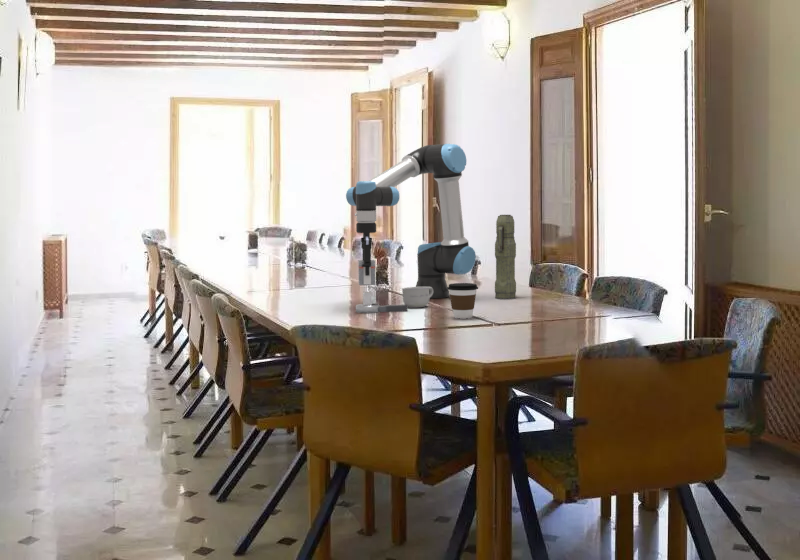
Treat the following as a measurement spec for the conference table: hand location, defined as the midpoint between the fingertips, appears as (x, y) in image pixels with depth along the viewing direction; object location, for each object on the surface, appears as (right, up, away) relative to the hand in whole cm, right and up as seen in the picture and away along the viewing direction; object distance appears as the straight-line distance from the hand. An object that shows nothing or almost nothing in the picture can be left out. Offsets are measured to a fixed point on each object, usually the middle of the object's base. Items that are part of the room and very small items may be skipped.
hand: (366, 283), depth 357 cm
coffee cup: (+35, -13, -19) cm, 42 cm away
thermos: (+57, -7, +40) cm, 70 cm away
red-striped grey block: (0, 0, 0) cm, 0 cm away
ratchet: (+5, -11, +2) cm, 12 cm away
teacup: (+20, -10, +14) cm, 26 cm away
